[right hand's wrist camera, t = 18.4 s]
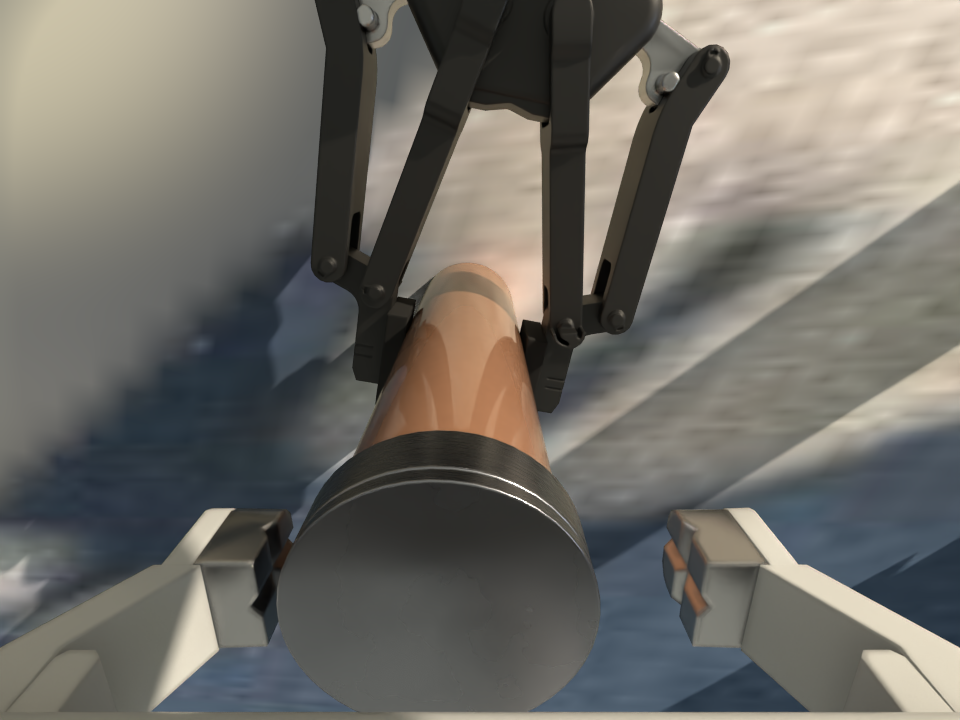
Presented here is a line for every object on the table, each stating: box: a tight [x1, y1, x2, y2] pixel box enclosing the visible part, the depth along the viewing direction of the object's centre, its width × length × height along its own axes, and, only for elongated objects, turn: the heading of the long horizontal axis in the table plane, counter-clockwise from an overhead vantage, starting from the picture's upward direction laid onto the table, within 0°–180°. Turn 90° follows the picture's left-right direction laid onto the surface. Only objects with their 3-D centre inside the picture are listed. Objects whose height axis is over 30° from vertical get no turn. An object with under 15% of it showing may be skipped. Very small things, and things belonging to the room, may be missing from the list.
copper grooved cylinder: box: [353, 263, 552, 474], centre depth 18 cm, size 5×5×19 cm
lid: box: [277, 430, 600, 712], centre depth 9 cm, size 5×5×2 cm
